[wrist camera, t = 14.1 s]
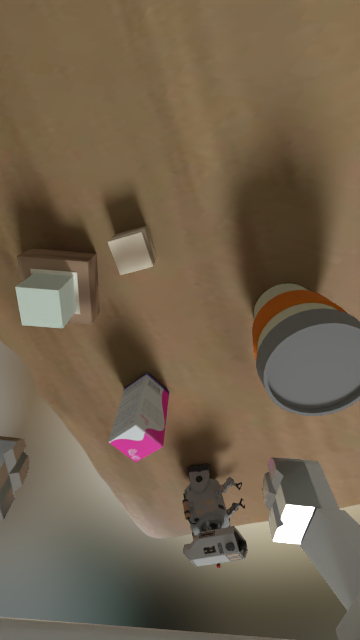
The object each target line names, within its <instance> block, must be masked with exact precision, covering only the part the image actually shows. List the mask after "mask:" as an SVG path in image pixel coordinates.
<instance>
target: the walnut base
mask: <svg viewBox="0 0 360 640" xmlns="http://www.w3.org/2000/svg"><path fill="white" fill-rule="evenodd" d="M17 259H18V265H19V270H20V276H21V282H23V281H24V280H26V279H27V278H28V277H30V276H31V275H33V274H34V273H42V274H54V275H66V276H73V278H74V290H75V301H76V312H75V313H74V315H73V316H72V317H71V318H70V320H69V321H68V323H81V324H92V323H93V322H94V320H95V318H96V317H97V315H98V314H99V294H98V274H97V254H96V253H83V252H71V251H59V250H46V249H34V248H31V249H29V250H28V251H26V252H24V253H22V254H20V255H18V256H17Z"/></svg>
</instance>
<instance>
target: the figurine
mask: <svg viewBox="0 0 360 640" xmlns="http://www.w3.org/2000/svg"><path fill="white" fill-rule="evenodd" d="M188 472H189V477H190V482H191V483H190V484H189V486H188V487H187V488H186V489H185V493H184V494H183V495H184V500H183V505H184V513H185V518H186V519H187V520H188V521H189V522H190V527H191V530H192V536H193V542H192V543H191V544H186V545H184V548H183V553H184V554H185V556H186V557H187V558H188V559H189V560H190V561H191V562H192V563H193V564H194V565H195V566H196V567H197V566H203V565H210V564H217V567H218V568H220V564H219V563H223V562H229V561H236V560H243V559H245V557H246V554H247V551H248V550H247V545H246V541H245V539H244V538H243V537H242V535H241V534H240V533H239V532H238V530H237V529H236V528H235V527H234V526H232V527H230V519H229V518H228V516H229V517H232V516H233V514H232V513H234V511H237V510H238V507H239V506H242V507H243V508H244V509H245V505H244V506H243V505H242V504H241V502H242V500H243V499H242V498H241V500H240V503H238V504H237V503H233V504H232V506H231V507H230V509H227V510H226V507H225V504H224V500H223V497H222V492H223V493H225V492H226V491H227V489H228V488H229V486H232V485H234V486H236V487H237V488H238V489H239V490H240V488H241V487H242V482H240V483H238V484H237V483H234V480H233V479H232V478H231V477H229V478H228V479H227V481H226V482H225V483H224V484H223V485H221V486H220V484H219V482H218V481H217V480H214V479H211V478H209V474H210V465H208V464H205V465H204V464H201V466H197V465H195V466H194V467H193V465H191V466H190V467H188ZM240 484H241V487H240V488H239V487H238V485H240ZM243 501H244V500H243Z"/></svg>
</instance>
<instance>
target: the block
mask: <svg viewBox="0 0 360 640" xmlns="http://www.w3.org/2000/svg"><path fill="white" fill-rule="evenodd" d="M108 244H109V247H110V249H111V252H112V255H113V257H114V260H115V262H116V265H117V268H118V270H119V273H120V275H123V274H127V273H131V272H134V271H138V270H142V269H145V268H149V267H153V265H154V263H155V260H156V254H155V251H154V248H153V244H152V241H151V238H150V235H149V232H148V229H147V226H143V227H139V228H136V229H132V230H129V231H126V232H122V233H119V234H115V235H114V236H113V237H112V238H111V239H110V240H109V241H108Z"/></svg>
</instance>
